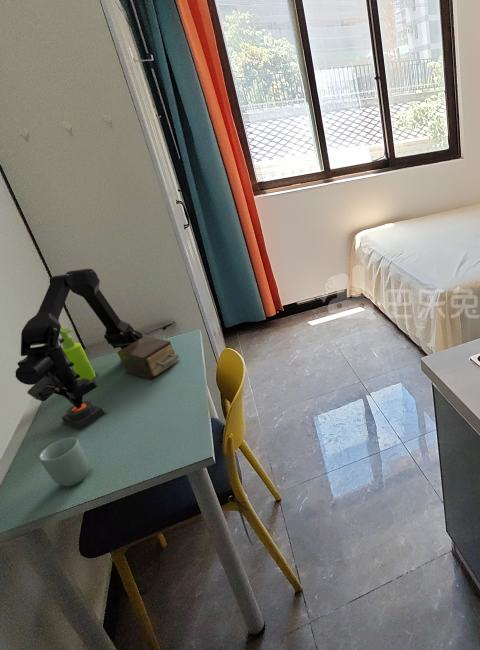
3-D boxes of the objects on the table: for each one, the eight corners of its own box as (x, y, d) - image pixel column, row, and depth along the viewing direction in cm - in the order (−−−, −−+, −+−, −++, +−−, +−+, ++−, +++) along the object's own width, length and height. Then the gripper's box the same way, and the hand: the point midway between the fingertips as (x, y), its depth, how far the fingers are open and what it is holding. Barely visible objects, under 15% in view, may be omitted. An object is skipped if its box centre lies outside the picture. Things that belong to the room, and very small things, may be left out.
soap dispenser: (84, 385, 150) (58, 335, 142) (72, 382, 153) (46, 332, 145) (101, 376, 155) (77, 326, 147) (89, 372, 158) (65, 323, 150)
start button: (71, 414, 132) (69, 410, 131) (83, 407, 135) (81, 402, 134) (78, 417, 130) (76, 412, 129) (90, 409, 133) (88, 404, 132)
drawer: (186, 363, 155) (180, 346, 152) (163, 378, 147) (156, 361, 144) (154, 356, 162) (148, 340, 159) (131, 370, 154) (123, 354, 151)
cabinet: (177, 361, 158) (169, 341, 154) (152, 379, 149) (143, 357, 146) (152, 356, 164) (144, 336, 160) (126, 372, 155) (117, 351, 151)
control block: (64, 422, 133) (58, 412, 131) (87, 408, 138) (82, 397, 136) (82, 429, 129) (76, 418, 127) (105, 413, 134) (99, 403, 133)
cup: (75, 492, 106) (57, 461, 102) (49, 490, 108) (30, 459, 104) (101, 467, 113) (85, 437, 109) (76, 465, 115) (59, 436, 111)
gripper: (6, 374, 123) (32, 418, 129) (44, 386, 115) (69, 432, 121) (49, 353, 132) (71, 395, 138) (86, 362, 124) (108, 406, 130)
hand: (79, 407), depth 132 cm, fingers closed, pressing on start button
